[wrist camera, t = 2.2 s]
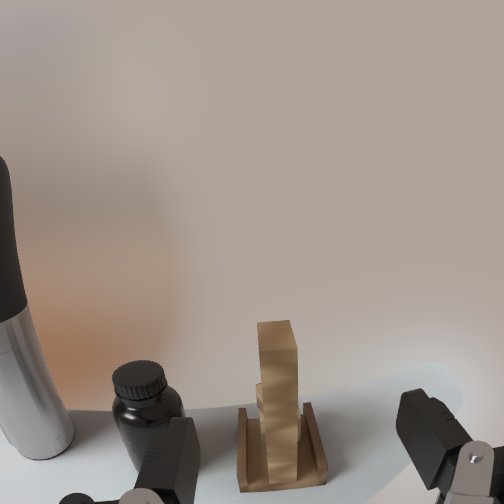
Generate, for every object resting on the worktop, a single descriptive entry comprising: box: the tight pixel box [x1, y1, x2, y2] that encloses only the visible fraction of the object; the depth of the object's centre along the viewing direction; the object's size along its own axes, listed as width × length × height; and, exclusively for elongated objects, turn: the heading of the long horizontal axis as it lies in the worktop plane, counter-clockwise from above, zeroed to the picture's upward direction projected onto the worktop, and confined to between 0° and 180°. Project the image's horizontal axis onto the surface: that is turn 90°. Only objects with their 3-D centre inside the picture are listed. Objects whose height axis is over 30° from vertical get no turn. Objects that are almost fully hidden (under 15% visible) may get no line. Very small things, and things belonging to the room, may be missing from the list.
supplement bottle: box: [112, 360, 186, 473], centre depth 27 cm, size 7×7×12 cm
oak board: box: [257, 320, 298, 484], centre depth 24 cm, size 2×4×15 cm, turn 1°
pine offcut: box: [259, 407, 301, 445], centre depth 30 cm, size 4×3×4 cm
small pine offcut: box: [256, 383, 264, 414], centre depth 30 cm, size 3×3×3 cm
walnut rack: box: [237, 402, 328, 493], centre depth 29 cm, size 8×10×3 cm
